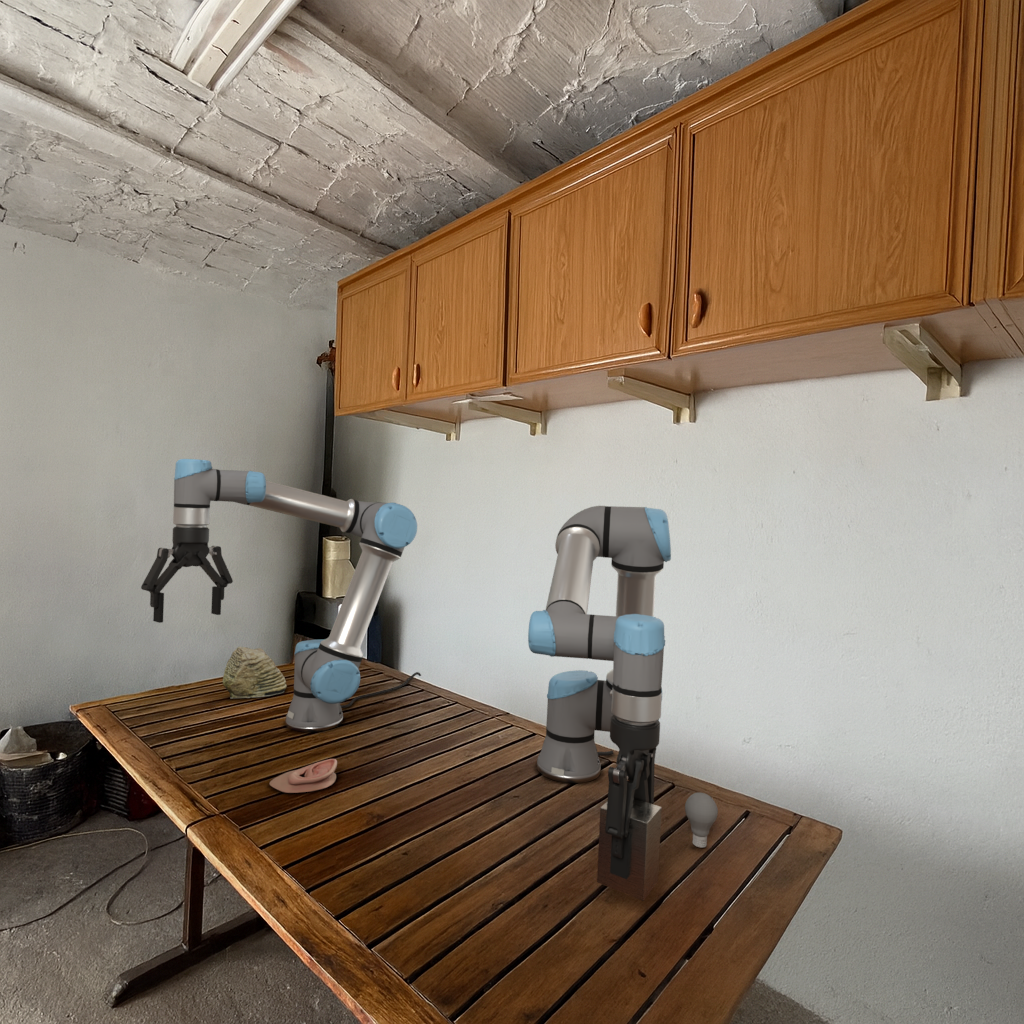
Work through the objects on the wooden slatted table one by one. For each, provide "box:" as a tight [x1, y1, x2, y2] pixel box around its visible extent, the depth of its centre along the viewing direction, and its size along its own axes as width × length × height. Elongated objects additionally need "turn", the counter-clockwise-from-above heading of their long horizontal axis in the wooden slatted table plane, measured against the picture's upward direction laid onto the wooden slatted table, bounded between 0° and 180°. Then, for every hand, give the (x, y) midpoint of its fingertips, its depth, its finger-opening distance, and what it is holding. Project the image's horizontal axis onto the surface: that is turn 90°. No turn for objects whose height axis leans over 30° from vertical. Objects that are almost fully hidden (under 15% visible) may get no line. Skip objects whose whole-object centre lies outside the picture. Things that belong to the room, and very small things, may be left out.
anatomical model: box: [269, 758, 338, 794], centre depth 140 cm, size 13×4×12 cm
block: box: [596, 798, 663, 902], centre depth 98 cm, size 6×8×12 cm
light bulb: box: [684, 792, 719, 849], centre depth 120 cm, size 6×6×10 cm
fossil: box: [222, 646, 288, 699], centre depth 198 cm, size 9×18×15 cm, turn 132°
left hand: (188, 617), depth 146 cm, fingers open, 13 cm apart
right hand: (628, 863), depth 98 cm, fingers closed on block, 6 cm apart
